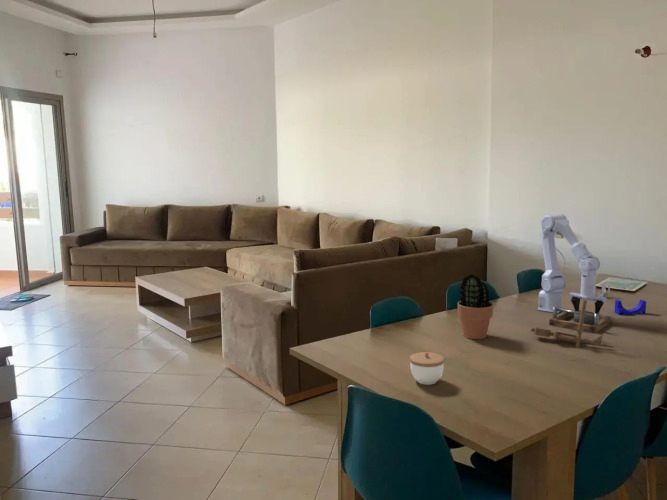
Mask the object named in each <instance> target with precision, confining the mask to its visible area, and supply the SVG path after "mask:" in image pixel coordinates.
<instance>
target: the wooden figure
mask: <svg viewBox="0 0 667 500" xmlns="http://www.w3.org/2000/svg"><path fill="white" fill-rule="evenodd" d="M587 303H588V300H586V299H582V303H581V310H580V311H581V315H580V321H579V327H578V330H577V334H574V333H573V334H572V333H569V332H565V331H563V332H562V331H559V330H555V331H552V330H551V329H549V328H548V329H547V328H541V327H537V326H536V327H533V328H530V332H533V335H534V336H539V337H545V338H550V336H552V339H555V340H559V341H563V342H568V343H574V344H575V345H574V346H575V348H577V349H580V344H581V343H585V344H589V345H594V346H599V347H601V345H602V341H603V334H601V335H599V336H598V337H596V338H595V339H588V338H585V337H582V334H583V331H582V328H583V322H584V316H585V311H587V310H586V308H587Z"/></svg>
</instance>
